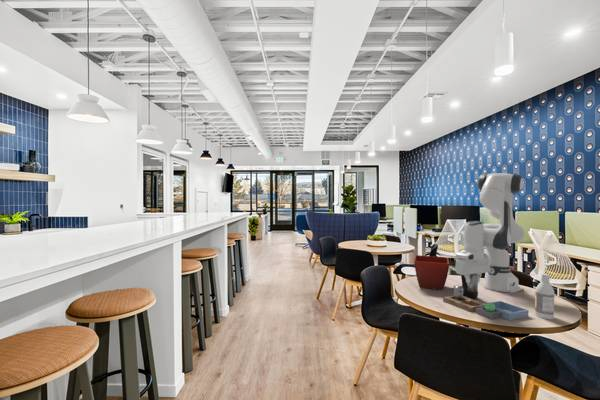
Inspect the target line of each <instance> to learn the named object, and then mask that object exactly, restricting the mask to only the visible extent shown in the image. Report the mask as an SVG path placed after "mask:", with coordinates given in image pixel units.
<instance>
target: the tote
mask: <svg viewBox="0 0 600 400" xmlns="http://www.w3.org/2000/svg"><path fill="white" fill-rule="evenodd" d="M490 303H492V304H494V305H495V311H500V312H502V317H501V318H502V319H504V320H508V321H513V320H518V319H523V318H527V317H529V309H527V308H524V307H520V306H517V305H515V304H511V303H508V302H505V301H502V300H497V301H493V302H490ZM484 306H485V303H484V304H482V307H484Z"/></svg>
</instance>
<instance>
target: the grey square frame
mask: <svg viewBox="0 0 600 400" xmlns="http://www.w3.org/2000/svg"><path fill="white" fill-rule="evenodd" d="M475 314H477V315H479V316H481V317H485V318H487V319H490V320H495V319H501V318H502V312H500V311H495V312H489V311H486V310H485V306H484V307H478V308H476V311H475Z"/></svg>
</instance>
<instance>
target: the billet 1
mask: <svg viewBox="0 0 600 400" xmlns="http://www.w3.org/2000/svg"><path fill="white" fill-rule="evenodd" d="M463 288H464V287H462V285H453V291H452V292H453V295H452V296H453V299H455V300H458V301H462V300H463Z"/></svg>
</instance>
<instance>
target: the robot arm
mask: <svg viewBox="0 0 600 400" xmlns="http://www.w3.org/2000/svg"><path fill="white" fill-rule="evenodd" d="M524 184H525V183H524V180H523V177H522V175H520V174H515V173H513V174H512V173H504V172H503V173H502V172H500V173H497V172H496V173H488V172H487V173H482V174H481V175H479V176H478V179H477V188H478V189H479V190H480V194H479V202H480V204H481V206H483V207H484V208H485V209H487V210H488V211H489V214H490V215H491V216H492V217H493V219H497V220H499V223H483V222H482V221H480V220H470V221H467V222H466V223H465V226H464V233H463V240H464V244H463V249H462V250H461V251H458V252H457V253H455V257H456V260H455V269H454V270H455V273H456V274H458V275H460V276H461V275H464V276H465V278H466V283H471V279H470V278H469V276H470V274H477V275H478V283H480V281H481V280H480V279H481V277H482V275H483V274H485V275H484V281H483V282H482V285H483V287H484V288H486V289H487V290H491V291H497V292H501V293H502V292H505V293H511V294H513V293H517V292H519V291H523V290H524V287H523V286H520V285H519V284H520V283H519V278H518V277H517V276H516V275H514V273H512V271H514V269H515V266H511V265H510V257H511V256H510V252H508V250H506V249H508V248H509V247H510V246H511V244H516V243H517V244H518V243H522V242H523V241H524V240H525V239H526V238H525V237H526V231H525V229H524V228H523V226H521V225H519V223H518V222H516V220H515V218H514V215H513V205H514V195H515V194H517V193H519V192H521V191H522V189H523V187H524ZM485 249H486V252H487V253H485Z"/></svg>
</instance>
